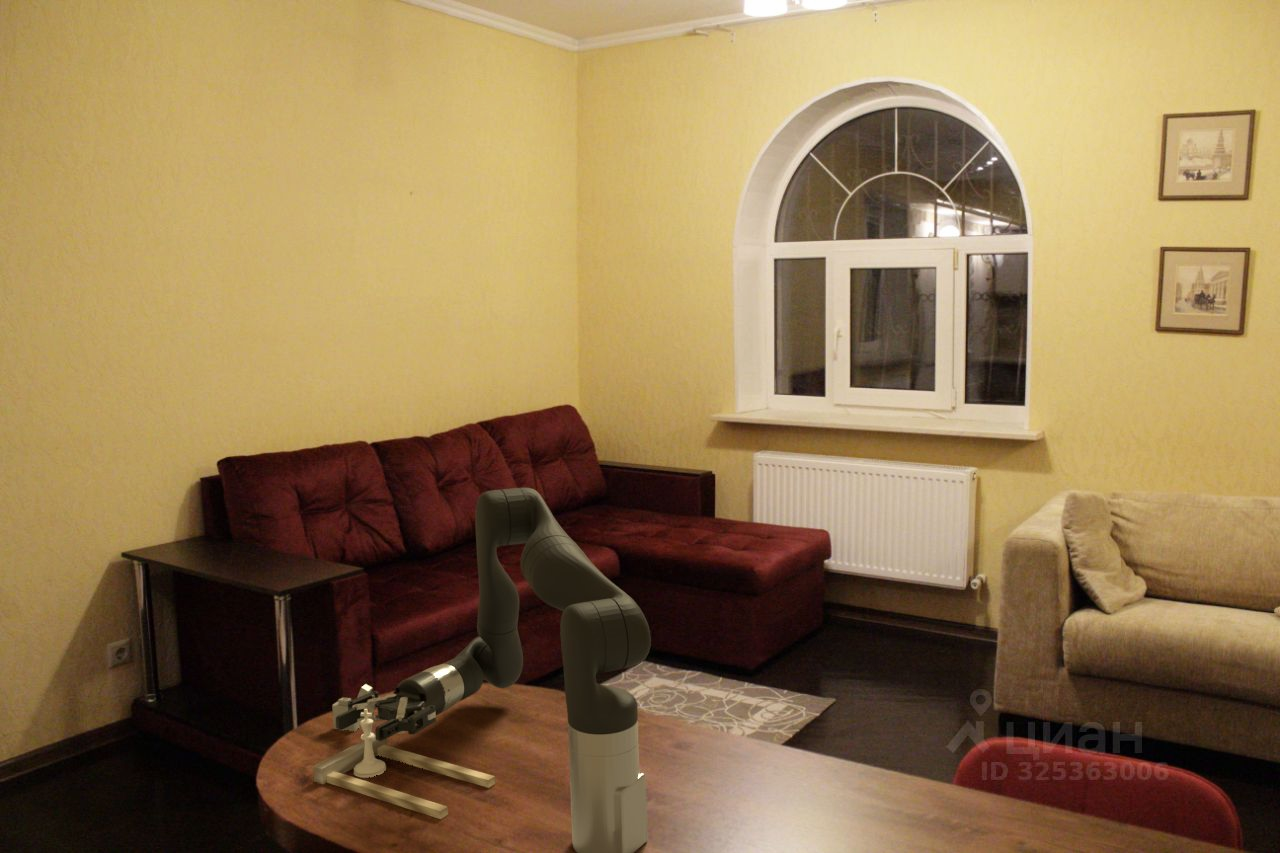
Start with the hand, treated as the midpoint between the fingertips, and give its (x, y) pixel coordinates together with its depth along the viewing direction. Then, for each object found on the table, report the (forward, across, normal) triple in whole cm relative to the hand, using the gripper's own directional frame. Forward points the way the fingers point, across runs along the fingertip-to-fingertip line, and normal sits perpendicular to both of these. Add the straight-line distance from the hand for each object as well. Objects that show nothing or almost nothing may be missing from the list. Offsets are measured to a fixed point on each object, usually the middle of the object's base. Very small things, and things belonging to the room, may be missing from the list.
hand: (357, 729), depth 161 cm
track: (-2, +8, +8) cm, 11 cm away
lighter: (-12, -14, +8) cm, 20 cm away
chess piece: (-2, 0, +8) cm, 8 cm away
